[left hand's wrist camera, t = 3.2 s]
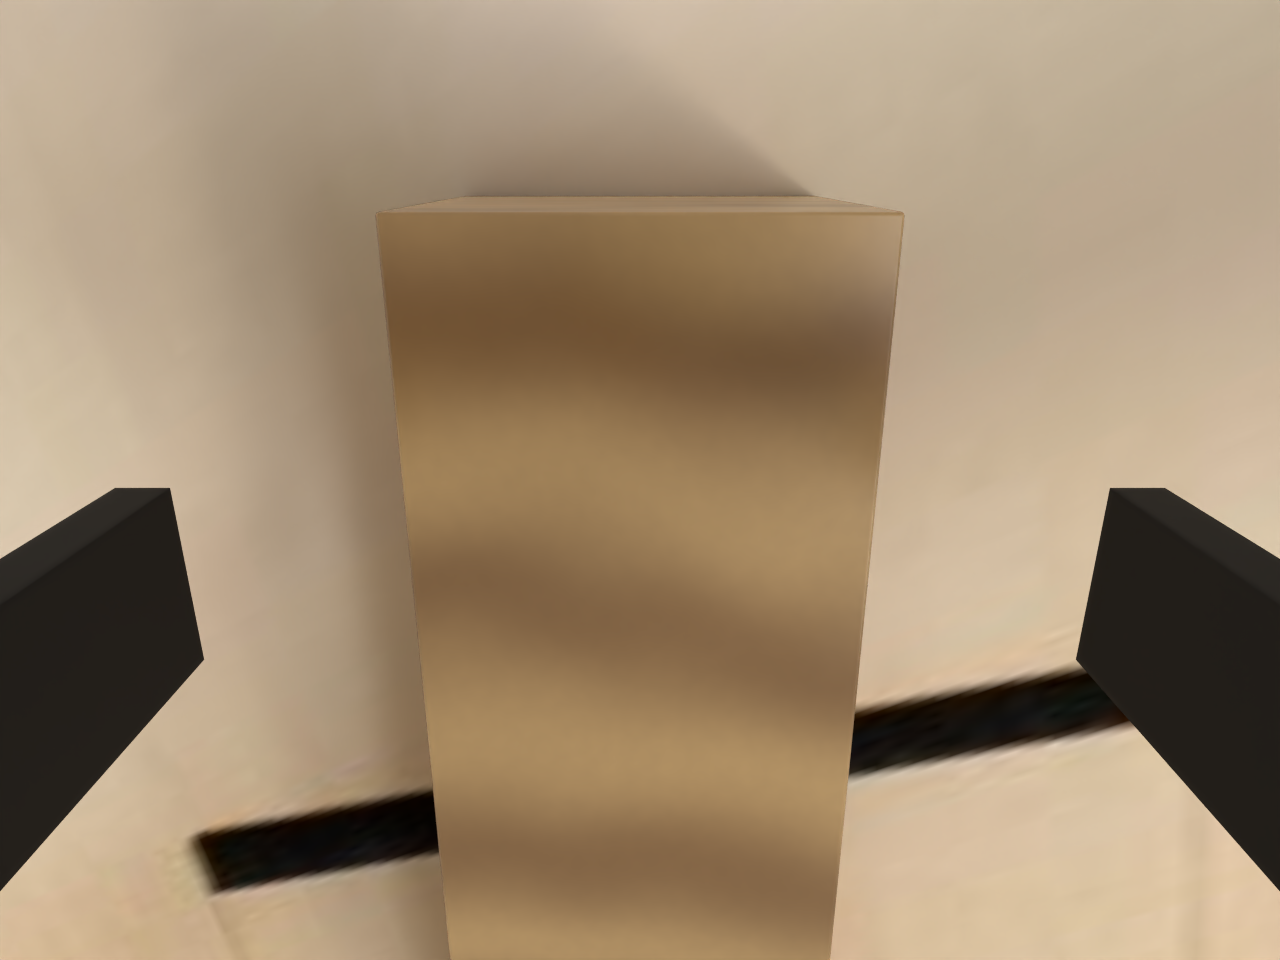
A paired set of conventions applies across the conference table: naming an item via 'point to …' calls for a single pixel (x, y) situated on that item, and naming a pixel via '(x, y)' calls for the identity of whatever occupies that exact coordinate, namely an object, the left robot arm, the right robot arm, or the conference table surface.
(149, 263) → the conference table surface
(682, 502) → the wide beam
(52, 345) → the conference table surface
